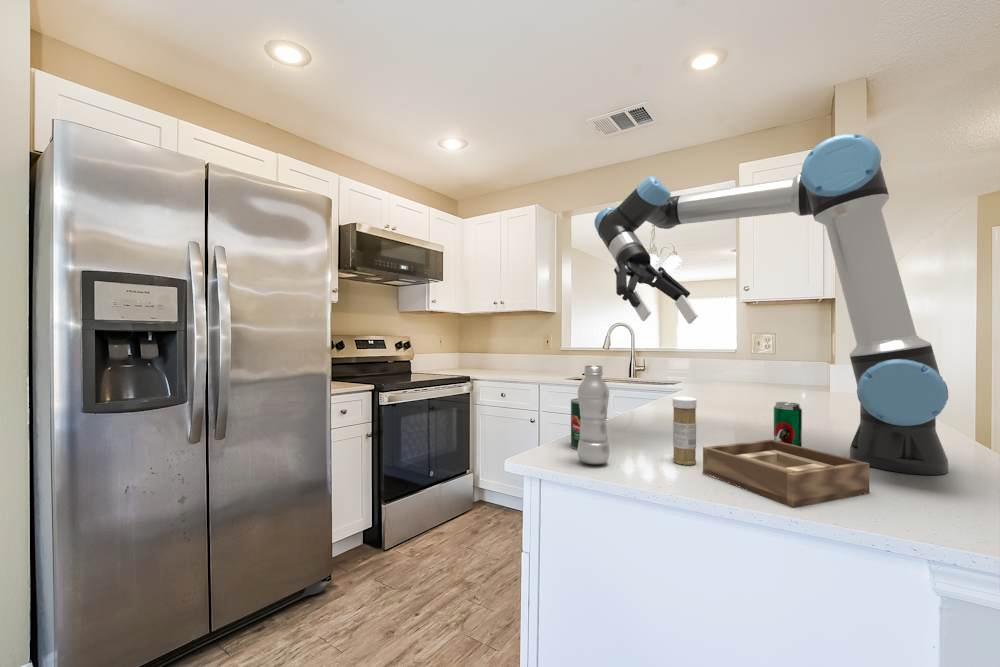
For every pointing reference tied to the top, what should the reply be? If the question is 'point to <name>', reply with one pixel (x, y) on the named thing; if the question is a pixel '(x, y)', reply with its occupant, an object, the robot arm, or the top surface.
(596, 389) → the plastic bottle
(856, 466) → the socket tray
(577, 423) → the canned tomato
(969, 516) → the top surface
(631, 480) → the top surface
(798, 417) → the soda can
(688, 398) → the sprinkles bottle
